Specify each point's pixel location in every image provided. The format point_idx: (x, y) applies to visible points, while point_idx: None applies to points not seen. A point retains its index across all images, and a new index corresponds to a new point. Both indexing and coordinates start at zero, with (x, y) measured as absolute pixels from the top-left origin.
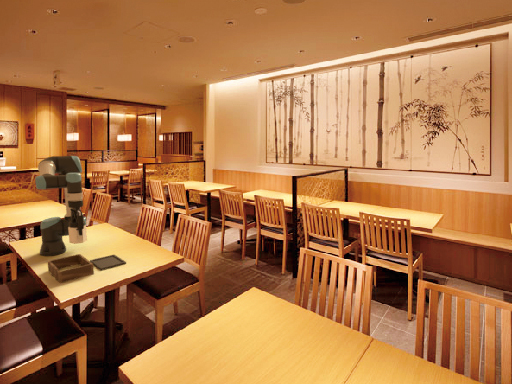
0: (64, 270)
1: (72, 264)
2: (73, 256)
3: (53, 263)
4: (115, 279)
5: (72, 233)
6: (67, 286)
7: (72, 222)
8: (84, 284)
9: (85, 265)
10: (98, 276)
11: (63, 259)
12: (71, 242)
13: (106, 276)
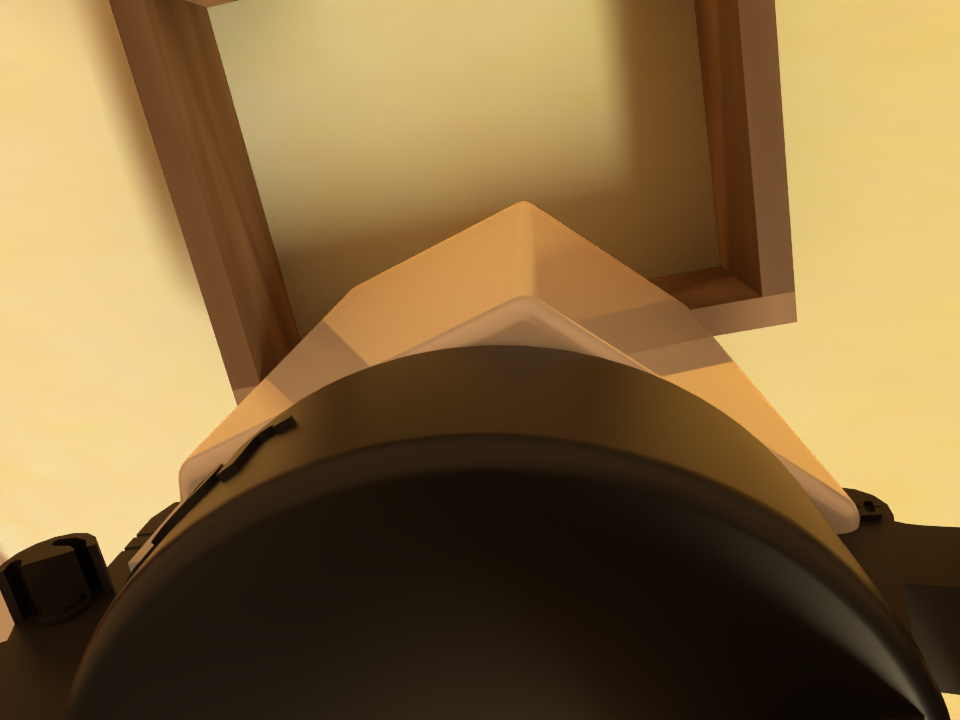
0: (148, 41)
1: (716, 186)
2: (754, 222)
3: None
4: (32, 521)
5: (313, 350)
6: (31, 63)
7: (380, 645)
8: (18, 239)
9: (225, 324)
10: (185, 398)
11: (736, 69)
12: (441, 242)
13: (148, 466)
